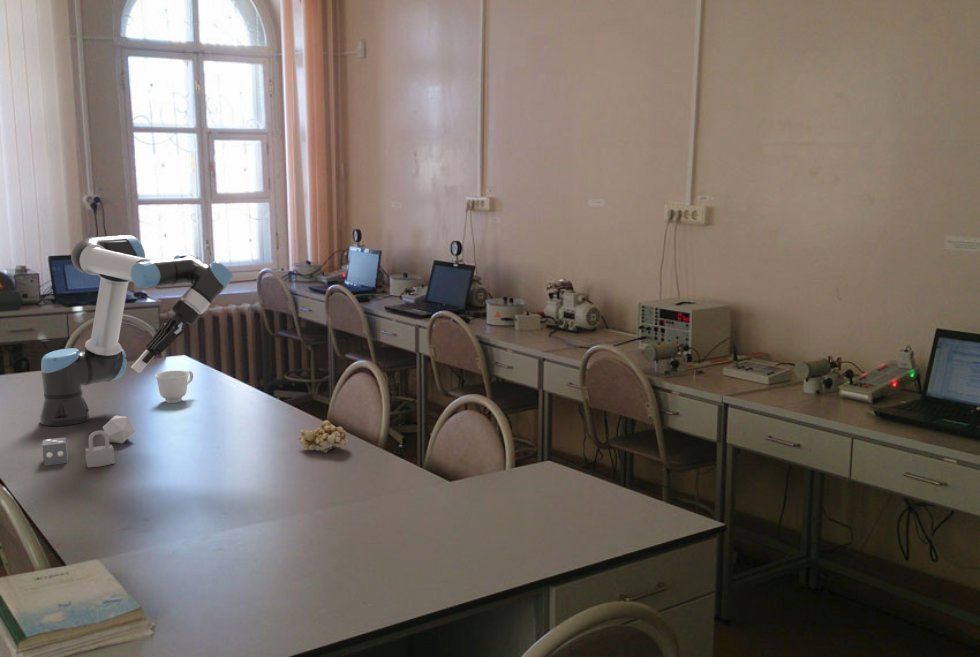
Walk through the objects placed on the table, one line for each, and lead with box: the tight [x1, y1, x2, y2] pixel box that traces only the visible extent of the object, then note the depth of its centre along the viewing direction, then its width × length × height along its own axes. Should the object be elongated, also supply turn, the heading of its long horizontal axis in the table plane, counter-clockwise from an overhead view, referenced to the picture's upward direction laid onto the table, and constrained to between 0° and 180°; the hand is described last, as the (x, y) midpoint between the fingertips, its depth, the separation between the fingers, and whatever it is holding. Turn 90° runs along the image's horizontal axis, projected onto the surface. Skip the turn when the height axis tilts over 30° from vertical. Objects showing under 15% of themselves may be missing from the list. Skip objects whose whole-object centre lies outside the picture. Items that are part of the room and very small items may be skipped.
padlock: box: [84, 430, 116, 469], centre depth 258 cm, size 7×4×10 cm, turn 121°
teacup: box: [154, 370, 194, 404], centre depth 330 cm, size 12×15×10 cm
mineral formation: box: [298, 420, 349, 453], centre depth 271 cm, size 8×13×15 cm
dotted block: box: [41, 437, 68, 466], centre depth 261 cm, size 6×6×6 cm
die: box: [102, 415, 136, 444], centre depth 280 cm, size 8×9×10 cm
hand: (135, 370), depth 260 cm, fingers closed
